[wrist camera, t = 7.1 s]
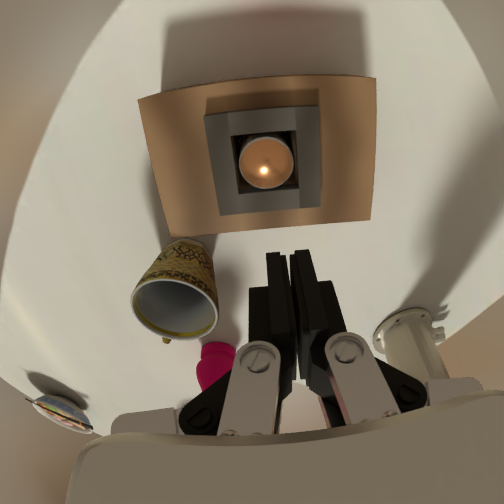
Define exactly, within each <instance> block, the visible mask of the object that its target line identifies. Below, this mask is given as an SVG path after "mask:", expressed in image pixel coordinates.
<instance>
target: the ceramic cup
mask: <svg viewBox="0 0 504 504" xmlns="http://www.w3.org/2000/svg"><path fill="white" fill-rule="evenodd" d="M131 308H132V311H133V313H134V315H135V317H136V318H137V320H138V321H139V322H140V323H141V324H142V325H143V326H144V327H146V328H147V329H148V330H150V331H151V332H153V333H155V334H157V335H159V336H162V340H163V342H164V343H166V344H169V343H170V341H171V339H173V340H194V339H198V338H201V337H204V336H206V335H207V334H209V333H210V332H211V331H212V330H213V329H214V328H215V327H216V325H217V323H218V319H219V306H218V297H217V290H216V286H215V276H214V269H213V260H212V258H211V256H210V254H209V253H208V251H207V250H206V248H205V247H204V245H203V244H202V243H201V242H198V241H194V240H191V239H187V238H182V239H179V240H177V241H175V242H173V243H170V244H168V245H166V247H165V248H164V249H163V250H162V252H161V253H160V255H159V256H158V257H157V258H156V260H155V261H154V263H153V264H152V266H151V267H150V268H149V269H148V270H147V271H146V273H145V274H144V275H143V277H142V278H141V280H140V281H139V283H138V284H137V286H136V288H135V289H134V291H133V293H132V296H131Z"/></svg>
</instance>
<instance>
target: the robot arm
mask: <svg viewBox="0 0 504 504" xmlns="http://www.w3.org/2000/svg"><path fill="white" fill-rule="evenodd" d="M266 261H267V275H268V286H265V287H253V288H249V343H247V344H245V345H244V346H242V347H241V348H240V349H239V350H238V351H237V353H236V355H235V358H234V363H233V367H232V368H231V369H230V370H229V371H228V372H227V373H225V374H224V375H223V376H222V377H220V378H219V379H218V380H217V381H216V382H214V383H213V384H212V385H211V386H209V387H208V388H207V389H205V390H204V391H203V392H202V393H200V394H199V395H198V396H197V397H195V398H194V399H193V400H191V401H190V402H189V403H187V404H186V405H185V406H184V407H183V408H180V409H174V408H173V407H172V408H165V409H159V410H151V411H143V412H135V413H126V414H122V415H120V416H118V417H117V418H116V419H115V420H114V421H113V423H112V426H111V435H107V436H104V437H100V438H98V439H95V440H93V441H91V442H89V443H88V444H86V445H85V446H84V448H83V449H82V450H81V452H80V454H79V456H78V457H77V460H76V463H75V465H74V468H73V471H72V474H71V478H70V482H69V487H68V491H67V496H66V502H65V504H504V391H502V390H483V387H482V384H480V382H479V381H478V380H476V379H475V378H471V377H465V378H451V379H450V377H449V374H448V372H447V369H446V367H445V365H444V362H443V360H442V358H441V355H440V353H439V351H438V349H437V346H436V344H435V343H438V342H442V341H444V340H445V333H444V327H443V326H441V327H437V328H433V327H432V318H431V316H430V314H429V313H428V312H427V311H426V310H424V309H419V308H416V309H408V310H405V311H402V312H400V313H398V314H396V315H394V316H392V317H390V318H389V319H388V320H386V321H385V322H384V323H383V324H382V325H381V326H380V327H379V328H378V329H377V331H376V332H375V334H374V336H373V345H374V348H375V350H376V351H377V352H379V353H382V354H385V356H386V359H387V362H388V364H387V363H385V362H383V361H381V360H379V359H378V358H376V357H374V356H373V354H372V352H371V350H370V348H369V346H368V344H367V342H366V341H365V340H364V339H363V338H362V337H361V336H359V335H357V334H355V333H351V332H347V330H346V326H345V323H344V319H343V316H342V313H341V309H340V306H339V303H338V299H337V296H336V293H335V290H334V286H333V283H332V281H331V280H329V281H320V282H318V281H317V277H316V273H315V270H314V266H313V262H312V259H311V255H310V252H309V249H306V250H295V254H291V255H290V280H289V274H288V267H287V261H286V255H280V252H272V253H266ZM290 282H291V286H290ZM297 356H298V364H299V372H300V379H306V385H307V386H309V389H310V390H311V391H313V392H315V393H316V394H317V395H318V399H319V403H320V406H321V409H322V412H323V415H324V418H325V421H326V424H327V428H328V429H322V430H315V431H305V432H296V433H285V434H279V432H280V424H281V415H282V406H283V400H284V399H285V398H286V397H287V396H288V395H289V394H290V393H291V392H292V380H296V366H297Z"/></svg>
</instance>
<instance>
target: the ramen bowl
mask: <svg viewBox="0 0 504 504" xmlns="http://www.w3.org/2000/svg"><path fill="white" fill-rule="evenodd" d="M26 400H28V399H26ZM28 401H30V400H28ZM30 402H32V401H30ZM32 404H33V406H34V407H35V408H36V409H37V411H39V412H40V413H41V414H43V415H44V416H45V417H47V418H48V419H50V420H52V421H54V422H55V423H57V424H59V425H62V426H64V427H66V428H68V429H71V430H74V431H77V432H81V433H86V434H89V433H92V430H93V426H91V424H90V421H89V419H88V417H87V416H86V415H85V414H84V412H83V411H82V410H81V409H80V408H79V407H77V406H76V404H75V403H73V402H72V401H71V400H69V399H67V398H65V397H62V396H53V395H44V396H42V397H39V398H37V399H35V400H34V401H33V402H32Z"/></svg>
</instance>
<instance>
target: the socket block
mask: <svg viewBox="0 0 504 504" xmlns="http://www.w3.org/2000/svg"><path fill="white" fill-rule="evenodd" d="M138 104H139V109H140V114H141V119H142V124H143V128H144V133H145V138H146V142H147V146H148V151H149V155H150V159H151V164H152V168H153V172H154V176H155V180H156V184H157V188H158V192H159V196H160V199H161V203H162V207H163V210H164V214H165V218H166V221H167V225H168V228H169V232H170V235H171V238H179V237H188V236H198V235H207V234H217V233H227V232H237V231H247V230H258V229H269V228H280V227H291V226H303V225H315V224H327V223H339V222H352V221H366V220H370V217H371V207H372V197H373V185H374V171H375V153H376V115H377V104H376V78H371V77H363V76H355V75H335V74H303V75H279V76H264V77H253V78H243V79H234V80H226V81H219V82H212V83H206V84H200V85H194V86H189V87H184V88H179V89H174V90H169V91H165V92H160V93H157V94H154V95H151V96H147V97H144V98H141V99H138ZM274 131H286V142H287V145H288V147H289V149H290V151H291V154H292V156H293V161H294V165H293V170H292V173H291V175H290V177H289V178H288V179H287V180H286V181H285V182H284V183H283V184H281V185H279V186H277V187H275V188H270V189H262V188H258V187H255V186H253V185H251V184H249V183H248V182H247V181H246V180H245V179H244V177H243V176H242V174H241V172H240V168H239V158H240V154H239V146H238V139H237V135H243V134H252V133H263V132H274Z"/></svg>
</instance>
